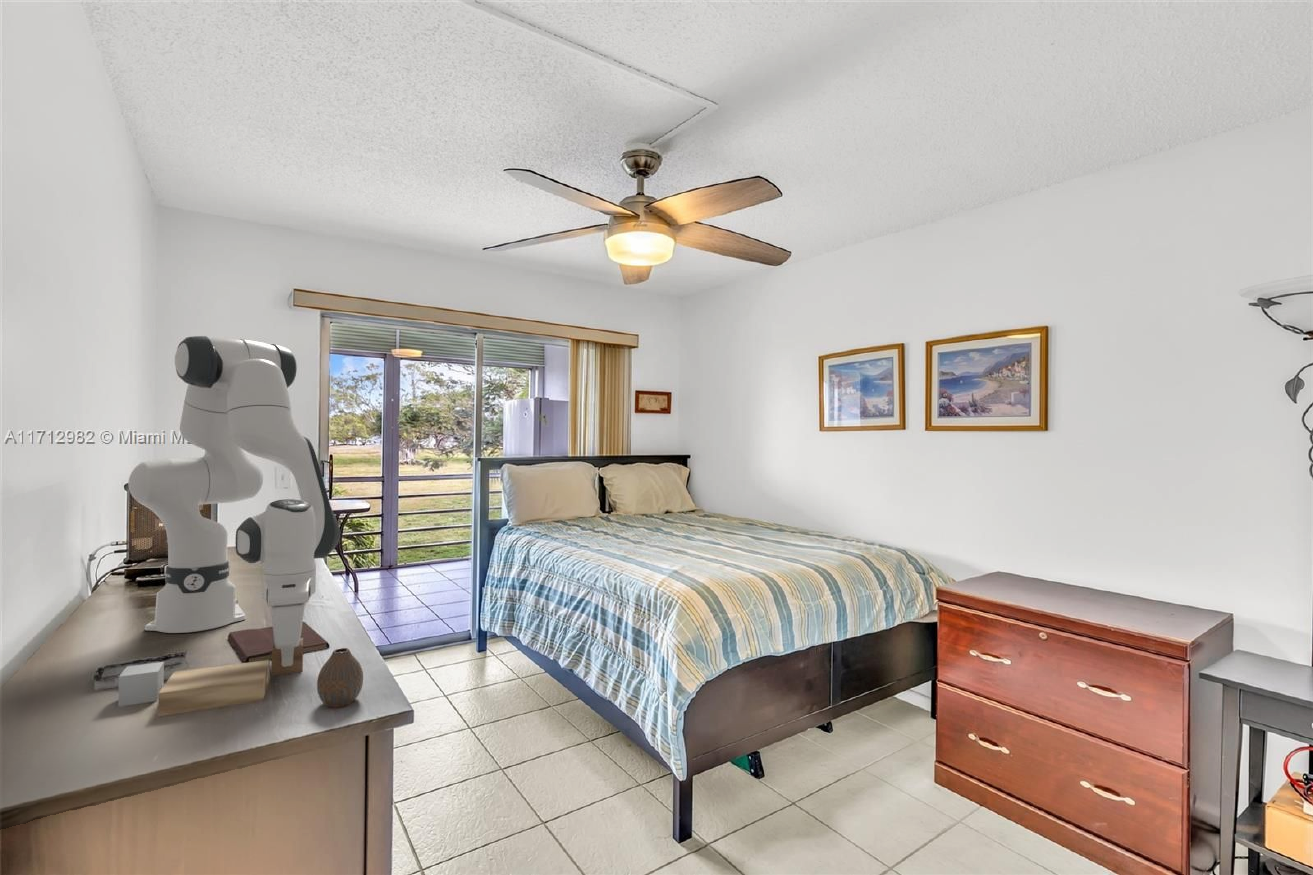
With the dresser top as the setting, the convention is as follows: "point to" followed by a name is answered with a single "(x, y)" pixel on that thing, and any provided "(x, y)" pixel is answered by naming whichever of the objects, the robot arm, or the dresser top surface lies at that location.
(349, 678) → the vase
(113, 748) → the dresser top surface
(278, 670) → the walnut cube
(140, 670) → the grey block
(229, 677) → the oak block
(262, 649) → the notebook
